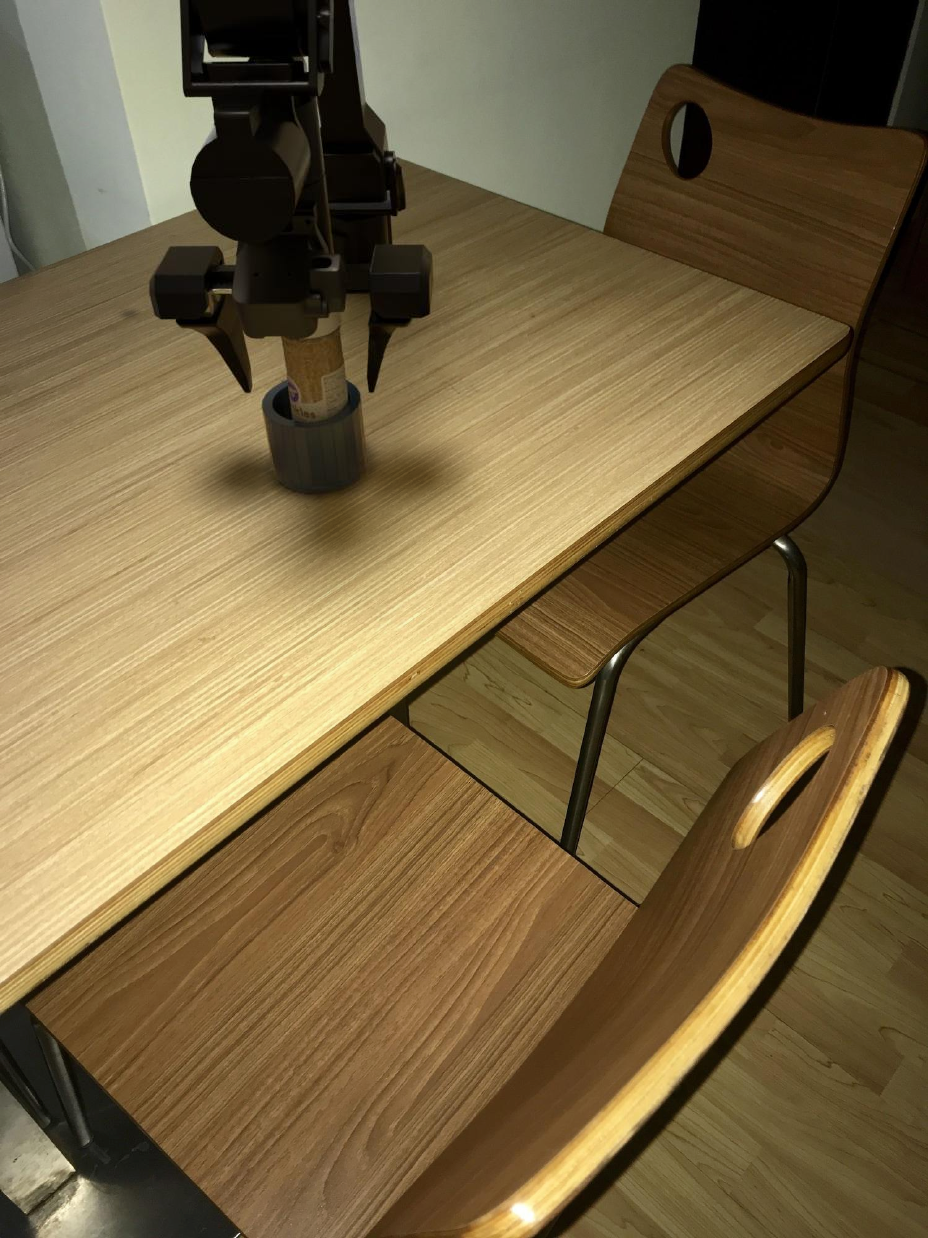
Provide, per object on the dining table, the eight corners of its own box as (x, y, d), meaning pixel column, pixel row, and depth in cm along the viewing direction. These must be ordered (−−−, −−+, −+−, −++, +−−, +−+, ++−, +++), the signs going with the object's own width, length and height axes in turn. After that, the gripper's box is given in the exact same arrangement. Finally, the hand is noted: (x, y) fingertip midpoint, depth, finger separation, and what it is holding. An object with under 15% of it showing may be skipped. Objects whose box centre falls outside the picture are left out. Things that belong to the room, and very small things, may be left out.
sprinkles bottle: (286, 460, 78) (258, 300, 69) (327, 434, 81) (306, 276, 71) (326, 482, 76) (304, 320, 66) (368, 455, 78) (352, 295, 69)
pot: (319, 428, 82) (310, 363, 78) (386, 460, 79) (381, 394, 75) (254, 470, 78) (241, 405, 74) (321, 506, 75) (312, 439, 71)
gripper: (98, 229, 57) (160, 453, 68) (420, 227, 57) (430, 452, 68) (146, 158, 65) (194, 368, 76) (429, 155, 65) (437, 368, 76)
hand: (310, 390), depth 74 cm, fingers open, 9 cm apart
